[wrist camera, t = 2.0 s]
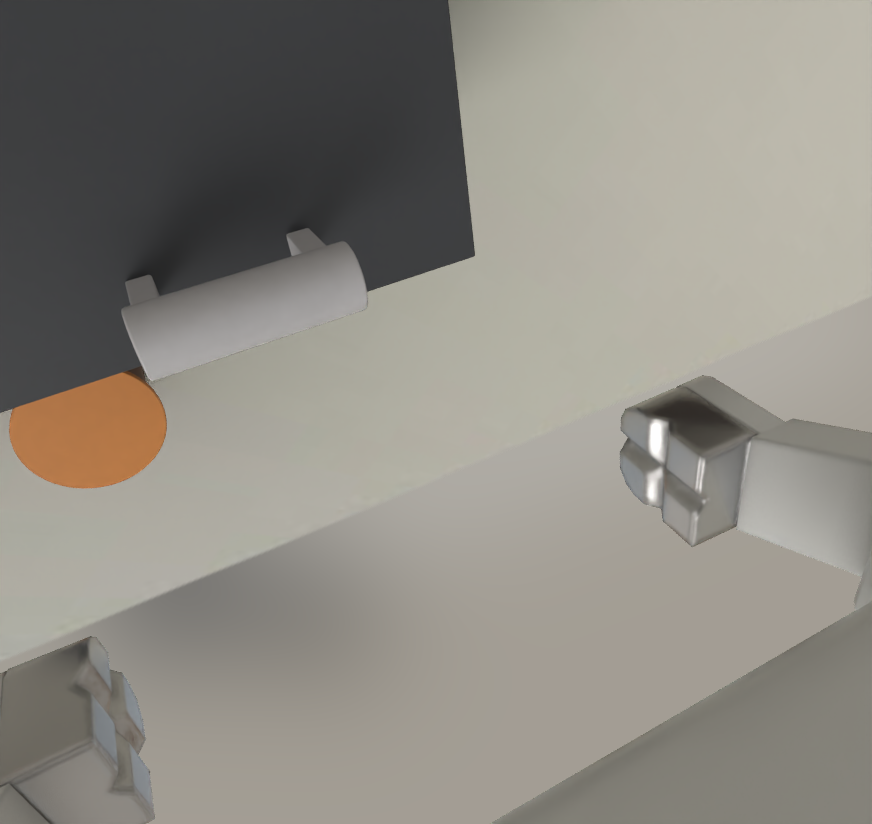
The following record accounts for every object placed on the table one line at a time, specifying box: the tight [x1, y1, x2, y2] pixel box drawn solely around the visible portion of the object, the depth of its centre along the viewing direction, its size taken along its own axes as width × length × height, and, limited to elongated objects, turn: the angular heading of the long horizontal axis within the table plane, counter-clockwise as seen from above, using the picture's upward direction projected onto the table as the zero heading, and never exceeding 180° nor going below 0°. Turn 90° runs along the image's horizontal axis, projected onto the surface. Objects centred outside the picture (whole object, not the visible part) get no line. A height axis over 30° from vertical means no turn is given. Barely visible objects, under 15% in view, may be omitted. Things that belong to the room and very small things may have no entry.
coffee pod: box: [9, 366, 167, 488], centre depth 28 cm, size 5×5×5 cm
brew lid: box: [0, 0, 475, 413], centre depth 15 cm, size 14×16×5 cm
